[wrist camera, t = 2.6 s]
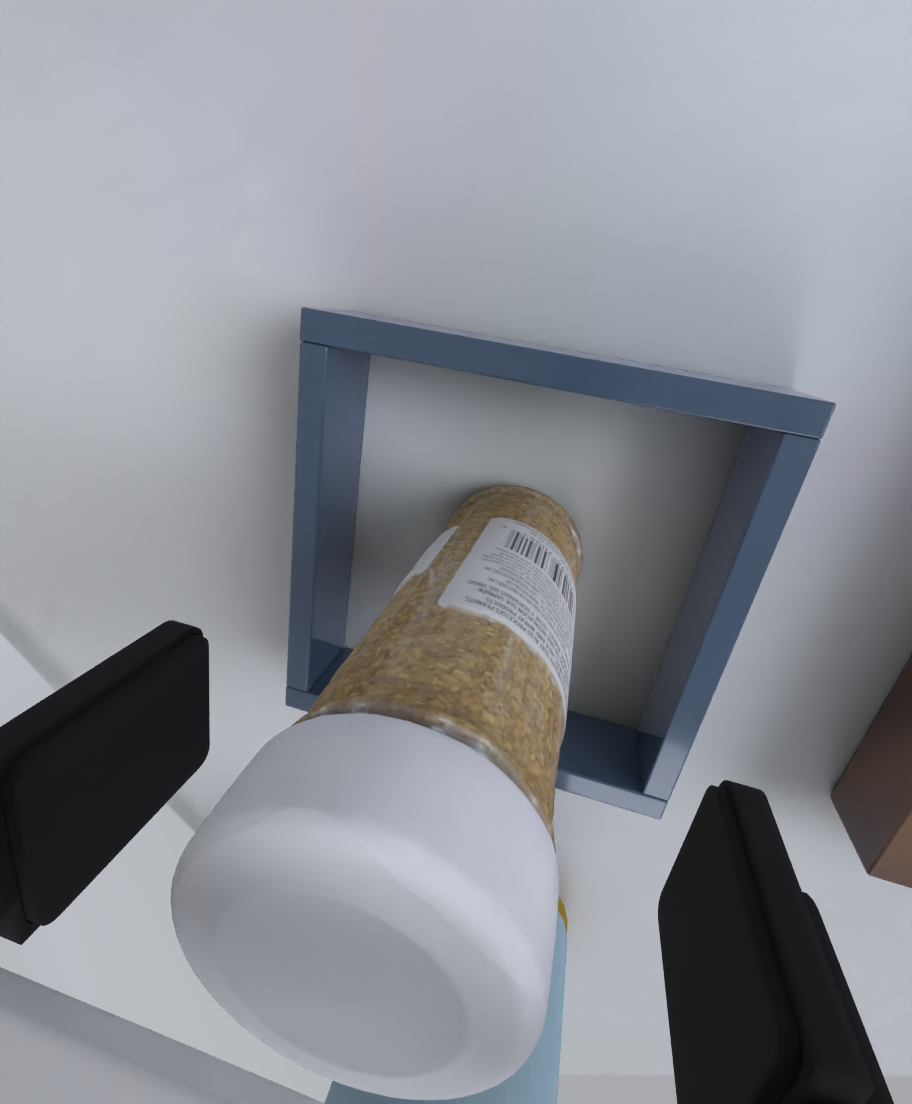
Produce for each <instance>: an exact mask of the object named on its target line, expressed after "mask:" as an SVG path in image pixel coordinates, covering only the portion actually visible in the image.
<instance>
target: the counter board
mask: <svg viewBox="0 0 912 1104" xmlns="http://www.w3.org/2000/svg"><path fill="white" fill-rule="evenodd" d="M831 800H832V802H833V804H834V806H835V808H836V810H837V812H838V814H839V816H840V819H841V821H842V823H843V825H844V827H845V829H846V831H847V833H848V835H849V837H850V839H851V841H852V843H853V845H854V847H855V850H856V852H857V854H858V856H859V858H860V860H861V862H862V864H863V866H864V868H865V870H866V872H867V874H869V875H870V876H874V877H877V878H880V879H883V880H887V881H890V882H893V883H897V884H900V885H903V886H906V887H910V888H912V657H911V659H910V660H909V662H908V664H907V665H906V667H905V669H904V671H903V672H902V674H901V676H900V677H899V679H898V681H897V683H896V684H895V686H894V688H893V690H892V691H891V693H890V695H889V696H888V698H887V700H886V702H885V703H884V705H883V707H882V708H881V710H880V712H879V714H878V715H877V717H876V719H875V721H874V722H873V724H872V726H871V727H870V729H869V731H868V733H867V734H866V736H865V738H864V739H863V741H862V743H861V745H860V746H859V748H858V750H857V752H856V753H855V755H854V757H853V758H852V760H851V762H850V764H849V765H848V767H847V769H846V770H845V772H844V774H843V776H842V777H841V779H840V781H839V783H838V784H837V786H836V788H835V789H834V791H833V793H832V795H831Z"/></svg>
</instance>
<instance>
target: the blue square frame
mask: <svg viewBox="0 0 912 1104" xmlns="http://www.w3.org/2000/svg"><path fill="white" fill-rule="evenodd" d="M300 340H302V341H303V342H301V345H300V369H299V393H298V418H297V442H296V467H295V491H294V516H293V540H292V565H291V589H290V613H289V638H288V662H287V687H286V705H287V706H290V707H293V708H297V709H300V710H303V711H306V712H309V710H310V708H311V707H312V705H313V703H314V702H315V700H316V699H317V698H318V697H319V696H320V694H321V693H322V692H323V690H324V689H325V687H326V686H327V685H328V684H329V683H330V681H331V679H332V677H333V676H334V675H335V673H336V672H337V670H338V669H339V667H340V666H341V665H342V664H343V663H344V662H345V660H346V659H347V658H348V657H349V655H350V654H351V653H352V651H353V650H350V649H346V648H343V647H344V640H345V629H346V618H347V607H348V595H349V584H350V573H351V561H352V550H353V539H354V528H355V516H356V505H357V494H358V483H359V471H360V460H361V449H362V437H363V426H364V415H365V404H366V392H367V381H368V370H369V359H370V354H374V355H379V356H385V357H390V358H395V359H400V360H406V361H411V362H416V363H421V364H427V365H432V366H437V367H442V368H448V369H453V370H458V371H463V372H469V373H474V374H479V375H484V376H490V377H495V378H500V379H505V380H511V381H516V382H521V383H526V384H532V385H537V386H542V387H547V388H553V389H558V390H563V391H568V392H574V393H579V394H584V395H589V396H595V397H600V398H605V399H610V400H616V401H621V402H626V403H631V404H637V405H642V406H647V407H652V408H658V409H663V410H668V411H673V412H679V413H684V414H689V415H694V416H700V417H705V418H710V419H715V420H721V421H726V422H731V423H736V424H742V425H747V426H748V428H747V431H746V433H745V436H744V439H743V442H742V444H741V447H740V450H739V452H738V455H737V458H736V461H735V463H734V466H733V469H732V472H731V474H730V477H729V480H728V483H727V485H726V488H725V491H724V493H723V496H722V499H721V502H720V504H719V507H718V510H717V513H716V515H715V518H714V521H713V524H712V526H711V529H710V532H709V534H708V537H707V540H706V543H705V545H704V548H703V551H702V554H701V556H700V559H699V562H698V564H697V567H696V570H695V573H694V575H693V578H692V581H691V584H690V586H689V589H688V592H687V595H686V597H685V600H684V603H683V605H682V608H681V611H680V614H679V616H678V619H677V622H676V625H675V627H674V630H673V633H672V635H671V638H670V641H669V644H668V646H667V649H666V652H665V655H664V657H663V660H662V663H661V666H660V668H659V671H658V674H657V676H656V679H655V682H654V685H653V687H652V690H651V693H650V696H649V698H648V701H647V704H646V707H645V709H644V712H643V715H642V717H641V720H640V723H639V726H638V728H637V731H636V730H633V729H629V728H626V727H622V726H619V725H615V724H611V723H608V722H604V721H601V720H597V719H594V718H590V717H587V716H583V715H580V714H576V713H573V712H569V711H567V716H566V727H565V732H564V737H563V741H562V744H561V747H560V753H559V762H558V767H557V780H556V785H555V788H558V789H561V790H564V791H568V792H571V793H574V794H577V795H581V796H584V797H587V798H590V799H594V800H597V801H600V802H604V803H607V804H610V805H613V806H617V807H620V808H623V809H626V810H630V811H633V812H636V813H639V814H643V815H646V816H649V817H652V818H656V819H661V817H662V815H663V812H664V810H665V808H666V805H667V803H668V800H669V799H670V796H671V794H672V791H673V789H674V787H675V784H676V782H677V780H678V777H679V775H680V773H681V770H682V768H683V765H684V763H685V761H686V758H687V756H688V754H689V751H690V749H691V747H692V744H693V742H694V739H695V737H696V735H697V732H698V730H699V728H700V725H701V723H702V721H703V718H704V716H705V713H706V711H707V709H708V706H709V704H710V702H711V699H712V697H713V694H714V692H715V690H716V687H717V685H718V683H719V680H720V678H721V676H722V673H723V671H724V668H725V666H726V664H727V661H728V659H729V657H730V654H731V652H732V650H733V647H734V645H735V642H736V640H737V638H738V635H739V633H740V631H741V628H742V626H743V624H744V621H745V619H746V616H747V614H748V612H749V609H750V607H751V605H752V602H753V600H754V598H755V595H756V593H757V590H758V588H759V586H760V583H761V581H762V579H763V576H764V574H765V572H766V569H767V567H768V564H769V562H770V560H771V557H772V555H773V553H774V550H775V548H776V546H777V543H778V541H779V538H780V536H781V534H782V531H783V529H784V527H785V524H786V522H787V520H788V517H789V515H790V512H791V510H792V508H793V505H794V503H795V501H796V498H797V496H798V494H799V491H800V489H801V486H802V484H803V482H804V479H805V477H806V475H807V472H808V470H809V468H810V465H811V463H812V460H813V458H814V456H815V453H816V451H817V449H818V446H819V444H820V440H819V439H821V438H822V437H823V435H824V432H825V430H826V428H827V425H828V423H829V420H830V418H831V416H832V413H833V411H834V409H835V406H836V404H835V403H834V402H830V401H827V400H824V399H821V398H818V397H815V396H811V395H808V394H805V393H802V392H799V391H796V390H792V389H786V388H781V387H775V386H770V385H764V384H758V383H753V382H747V381H742V380H736V379H730V378H725V377H719V376H714V375H708V374H702V373H697V372H691V371H686V370H680V369H674V368H669V367H663V366H658V365H652V364H646V363H641V362H635V361H630V360H624V359H618V358H613V357H607V356H601V355H596V354H590V353H585V352H579V351H573V350H568V349H562V348H557V347H551V346H545V345H540V344H534V343H529V342H523V341H517V340H512V339H506V338H501V337H495V336H489V335H484V334H478V333H473V332H467V331H461V330H456V329H450V328H445V327H439V326H433V325H428V324H422V323H416V322H411V321H405V320H400V319H394V318H388V317H383V316H377V315H372V314H366V313H360V312H355V311H347V310H334V309H321V308H308V307H303V308H302V309H301V328H300Z"/></svg>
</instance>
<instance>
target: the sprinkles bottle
mask: <svg viewBox="0 0 912 1104" xmlns="http://www.w3.org/2000/svg"><path fill="white" fill-rule="evenodd" d="M581 564H582V546H581V540H580V536H579V534H578V532H577V531H576V528H575V525H574V523H573V521H572V520H571V519H570V518H569V517H568V515H567V513H566V511H565V510H564V509H563V508H562V507H561V506H560V505H559V504H557V503H556V502H554V501H553V500H552V499H551V498H549V497H548V496H546V495H544V494H543V493H541V492H538V491H535V490H532V489H529V488H524V487H521V486H494V487H490V488H487V489H485V490H483V491H481V492H479V493H477V494H475V495H473V496H471V497H470V498H468V499H467V500H466V501H465V502H464V503H463V504H462V505H461V506H460V507H459V508H458V509H457V510H456V511H455V512H454V513H453V514H452V516H451V517H450V519H449V521H448V523H447V526H446V529H445V531H444V532H443V533H442V534H441V535H440V536H439V537H438V538H437V539H436V540H435V541H434V542H433V543H432V544H431V545H430V546H429V548H428V549H427V550H426V551H425V552H424V554H423V555H422V556H421V558H420V559H419V560H418V561H417V563H416V564H415V565H414V566H413V568H412V569H411V571H410V572H409V573H408V575H407V576H406V577H405V578H404V580H403V581H402V582H401V584H400V585H399V587H398V588H397V589H396V591H395V593H394V594H393V596H392V598H391V600H390V602H389V605H388V606H387V607H386V608H385V609H384V611H383V612H382V613H381V615H380V616H379V618H378V619H377V620H376V621H375V622H374V624H373V625H372V626H371V628H370V629H369V630H368V632H367V633H366V634H365V635H364V637H363V638H362V640H361V641H360V642H359V644H358V645H357V646H356V647H355V648H354V650H353V651H352V653H351V654H350V655H349V657H348V658H347V659H346V660H345V662H344V663H343V664H342V665H341V666H340V667H339V669H338V670H337V672H336V673H335V675H334V676H333V677H332V679H331V681H330V683H329V684H328V685H327V686H326V687H325V689H324V690H323V692H322V693H321V694H320V696H319V697H318V698H317V699H316V700H315V702H314V703H313V705H312V707H311V708H310V710H309V712H308V714H306V715H304V716H303V717H302V718H301V719H299V720H298V721H297V722H296V723H294V724H293V725H292V726H291V727H289V728H287V729H285V730H284V731H282V732H281V733H279V734H278V735H276V736H275V737H273V738H272V739H271V740H270V741H269V742H267V743H266V744H265V745H264V746H263V748H262V749H261V750H260V751H259V752H258V753H257V754H256V755H255V756H254V758H253V759H252V760H251V761H250V763H249V764H248V765H247V766H246V768H245V769H244V770H243V771H242V773H241V774H240V775H239V776H238V778H237V779H236V780H235V781H234V783H233V784H232V785H231V786H230V788H229V789H228V790H227V792H226V793H225V794H224V796H223V797H222V798H221V800H220V801H219V802H218V804H217V805H216V806H215V808H214V809H213V810H212V812H211V813H210V814H209V816H208V817H207V818H206V820H205V821H204V822H203V824H202V825H201V826H200V828H199V829H198V830H197V832H196V833H195V835H194V836H193V837H192V839H191V840H190V841H189V843H188V845H187V846H186V848H185V849H184V851H183V853H182V855H181V857H180V859H179V862H178V864H177V867H176V871H175V874H174V877H173V881H172V888H171V909H172V918H173V923H174V927H175V931H176V935H177V938H178V941H179V943H180V946H181V948H182V950H183V953H184V955H185V957H186V959H187V961H188V962H189V965H190V966H191V968H192V970H193V971H194V973H195V975H196V976H197V978H198V979H199V980H200V982H201V983H202V984H203V986H204V987H205V988H206V989H207V990H208V992H209V993H210V994H211V995H212V997H213V998H214V999H215V1000H216V1001H217V1003H218V1004H219V1005H220V1006H221V1007H222V1008H223V1009H224V1010H225V1011H227V1013H228V1014H229V1015H230V1016H231V1017H232V1018H233V1019H235V1021H237V1022H238V1023H239V1024H240V1025H241V1026H242V1027H243V1028H245V1029H246V1030H247V1031H248V1032H250V1033H251V1034H252V1035H254V1036H255V1037H256V1038H258V1039H259V1040H261V1041H262V1042H263V1043H264V1044H266V1045H267V1046H269V1047H270V1048H272V1049H273V1050H275V1051H276V1052H278V1053H279V1054H281V1055H283V1056H284V1057H286V1058H287V1059H289V1060H290V1061H292V1062H294V1063H296V1064H298V1065H300V1066H302V1067H304V1068H306V1069H308V1070H310V1071H312V1072H314V1073H316V1074H319V1075H321V1076H323V1077H326V1078H328V1079H330V1080H333V1081H335V1082H338V1083H340V1084H343V1085H346V1086H349V1087H353V1088H356V1089H359V1090H362V1091H366V1092H370V1093H375V1094H379V1095H383V1096H387V1097H392V1098H401V1099H410V1100H447V1099H454V1098H461V1097H466V1096H469V1095H473V1094H476V1093H479V1092H482V1091H484V1090H487V1089H489V1088H492V1087H494V1086H497V1085H499V1084H500V1083H502V1082H503V1081H505V1080H506V1079H508V1078H509V1077H511V1076H512V1075H513V1074H515V1073H516V1072H517V1071H518V1069H519V1068H520V1067H521V1066H522V1065H523V1064H524V1063H525V1062H526V1060H527V1059H528V1057H529V1056H530V1054H531V1053H532V1052H533V1050H534V1048H535V1047H536V1045H537V1043H538V1041H539V1038H540V1036H541V1034H542V1032H543V1027H544V1023H545V1018H546V1014H547V1008H548V1000H549V991H550V982H551V974H552V965H553V956H554V948H555V939H556V925H557V911H558V897H559V870H558V861H557V857H556V850H555V844H554V831H553V825H552V818H553V813H554V795H555V785H556V780H557V767H558V762H559V753H560V747H561V744H562V741H563V737H564V732H565V727H566V716H567V706H568V695H569V685H570V674H571V663H572V651H573V640H574V627H575V613H576V588H575V584H576V580H577V578H578V577H579V574H580V570H581Z"/></svg>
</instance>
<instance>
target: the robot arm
mask: <svg viewBox="0 0 912 1104" xmlns="http://www.w3.org/2000/svg"><path fill="white" fill-rule="evenodd" d="M209 746H210V741H209V644H208V640H207V639H206V638H204V637H203V633H202V631H201V629H199V628H197V627H194V626H191V625H187V624H184V623H180V622H177V621H167V622H164V623H163V624H161V625H160V626H158V627H156V628H155V629H153V630H152V631H150V632H149V633H147V634H145V635H144V636H142V637H141V638H139V639H138V640H136V641H134V642H133V643H131V644H130V645H128V646H127V647H125V648H123V649H122V650H120V651H119V652H117V653H116V654H114V655H112V656H111V657H109V658H108V659H106V660H105V661H103V662H102V663H100V664H98V665H97V666H95V667H94V668H92V669H91V670H89V671H87V672H86V673H84V674H83V675H81V676H80V677H78V678H76V679H75V680H73V681H72V682H70V683H69V684H67V685H65V686H64V687H62V688H61V689H59V690H58V691H56V692H54V693H53V694H51V695H50V696H48V697H47V698H45V699H44V700H42V701H40V702H39V703H37V704H36V705H34V706H32V707H31V708H29V709H28V710H26V711H25V712H23V713H22V714H20V715H18V716H17V717H15V718H14V719H12V720H10V721H9V722H7V723H6V724H4V725H3V726H1V727H0V936H1V937H3V938H6V939H8V940H11V941H13V942H16V943H18V944H20V945H22V944H23V943H24V942H25V941H26V940H27V939H28V938H29V937H30V936H31V935H32V934H33V932H34V931H35V930H36V929H37V928H38V927H39V926H40V925H42V926H44V925H48V924H50V923H51V922H53V921H54V920H55V919H56V918H57V917H58V916H59V915H60V914H61V913H62V912H63V911H64V910H65V909H66V908H67V907H68V906H69V905H70V904H71V903H72V902H73V901H74V899H75V898H76V897H77V896H78V895H79V894H80V893H81V892H82V891H83V890H84V889H85V888H86V887H87V886H88V885H89V884H90V882H92V881H93V880H94V878H95V877H96V876H97V875H98V874H99V873H100V872H101V871H102V870H103V869H104V868H105V867H106V866H107V865H108V863H110V862H111V860H112V859H113V858H114V857H115V856H116V855H117V854H118V853H119V852H120V851H121V850H122V849H123V848H124V847H125V846H126V845H127V844H128V842H129V841H130V840H131V839H132V838H133V837H134V836H135V835H136V834H137V833H138V832H139V831H140V830H141V829H142V828H143V827H144V826H145V824H146V823H147V822H148V821H149V820H150V819H151V818H152V817H153V816H154V815H155V814H156V813H157V812H158V811H159V810H160V809H161V808H162V807H163V806H164V805H165V803H166V802H167V801H168V800H169V799H170V798H171V797H172V796H173V795H174V794H175V793H176V792H177V791H178V790H179V789H180V788H181V787H182V785H183V784H184V783H185V782H186V781H187V780H188V779H189V778H190V777H191V776H192V775H193V774H194V773H195V772H196V771H197V770H198V769H199V768H200V766H201V765H202V764H203V762H204V761H205V759H206V757H207V755H208V751H209ZM658 922H659V932H660V941H661V951H662V960H663V970H664V980H665V989H666V999H667V1008H668V1018H669V1028H670V1037H671V1047H672V1056H673V1066H674V1076H675V1085H676V1094H677V1104H894V1103H893V1100H892V1097H891V1095H890V1092H889V1090H888V1087H887V1085H886V1082H885V1080H884V1077H883V1074H882V1072H881V1069H880V1067H879V1064H878V1061H877V1059H876V1056H875V1054H874V1051H873V1049H872V1046H871V1044H870V1041H869V1038H868V1036H867V1033H866V1031H865V1028H864V1026H863V1023H862V1020H861V1018H860V1015H859V1013H858V1010H857V1008H856V1005H855V1002H854V1000H853V997H852V995H851V992H850V990H849V987H848V985H847V982H846V979H845V977H844V974H843V972H842V969H841V967H840V964H839V961H838V959H837V956H836V954H835V951H834V949H833V946H832V943H831V941H830V938H829V936H828V933H827V931H826V928H825V926H824V923H823V920H822V918H821V915H820V913H819V910H818V908H817V906H816V904H815V903H814V901H813V899H812V898H811V897H810V896H809V895H808V894H807V893H804V892H802V891H801V888H800V886H799V883H798V880H797V878H796V875H795V872H794V870H793V867H792V864H791V862H790V859H789V856H788V853H787V851H786V848H785V845H784V843H783V840H782V837H781V835H780V832H779V829H778V827H777V824H776V821H775V819H774V816H773V813H772V811H771V808H770V805H769V802H768V800H767V797H766V795H765V794H764V792H763V791H761V790H759V789H756V788H752V787H749V786H745V785H742V784H738V783H735V782H731V781H728V780H724V781H723V782H722V783H721V784H720V785H719V787H716V786H713V785H711V786H709V787H708V788H707V790H706V792H705V794H704V797H703V799H702V801H701V804H700V806H699V808H698V810H697V813H696V815H695V817H694V820H693V822H692V824H691V826H690V829H689V831H688V833H687V836H686V838H685V840H684V842H683V845H682V847H681V849H680V851H679V854H678V856H677V858H676V861H675V863H674V865H673V867H672V870H671V872H670V874H669V877H668V879H667V881H666V883H665V886H664V888H663V890H662V893H661V896H660V900H659V906H658ZM0 1104H325V1103H322V1102H320V1101H317V1100H315V1099H313V1098H310V1097H308V1096H306V1095H303V1094H301V1093H298V1092H296V1091H294V1090H292V1089H289V1088H287V1087H284V1086H282V1085H280V1084H277V1083H275V1082H273V1081H270V1080H268V1079H265V1078H263V1077H261V1076H259V1075H256V1074H254V1073H252V1072H249V1071H247V1070H244V1069H242V1068H240V1067H237V1066H235V1065H233V1064H230V1063H228V1062H225V1061H223V1060H221V1059H218V1058H216V1057H214V1056H211V1055H209V1054H207V1053H204V1052H202V1051H199V1050H197V1049H195V1048H192V1047H190V1046H187V1045H185V1044H183V1043H180V1042H178V1041H176V1040H173V1039H171V1038H169V1037H166V1036H164V1035H161V1034H159V1033H157V1032H154V1031H152V1030H150V1029H147V1028H145V1027H142V1026H140V1025H138V1024H135V1023H133V1022H130V1021H128V1020H126V1019H123V1018H121V1017H119V1016H116V1015H114V1014H111V1013H109V1012H107V1011H104V1010H102V1009H99V1008H97V1007H95V1006H92V1005H90V1004H87V1003H85V1002H82V1001H80V1000H78V999H75V998H73V997H71V996H68V995H65V994H63V993H61V992H58V991H56V990H54V989H51V988H49V987H46V986H44V985H42V984H39V983H37V982H34V981H32V980H30V979H27V978H25V977H22V976H20V975H17V974H15V973H13V972H10V971H8V970H5V969H3V968H1V967H0Z"/></svg>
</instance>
